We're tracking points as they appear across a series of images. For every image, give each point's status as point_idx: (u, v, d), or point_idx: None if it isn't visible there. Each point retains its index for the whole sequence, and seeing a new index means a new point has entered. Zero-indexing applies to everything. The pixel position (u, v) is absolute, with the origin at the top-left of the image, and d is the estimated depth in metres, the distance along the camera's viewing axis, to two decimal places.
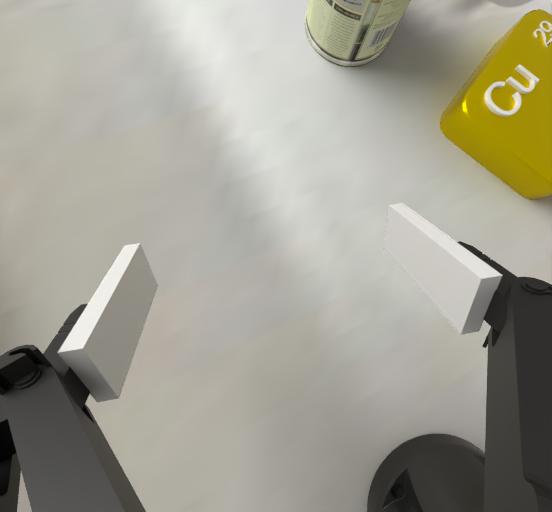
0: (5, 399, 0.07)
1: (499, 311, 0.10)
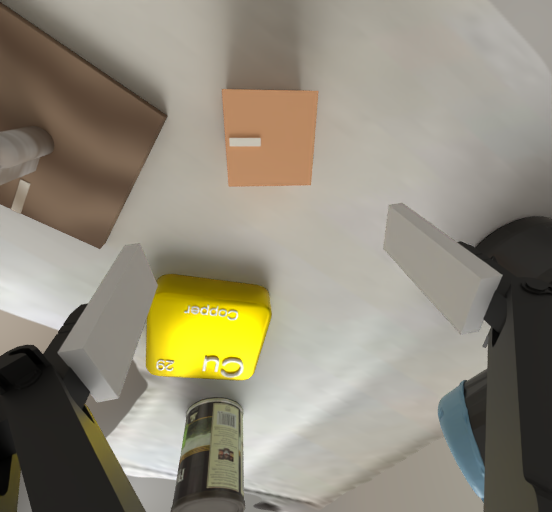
0: (6, 398, 0.08)
1: (499, 311, 0.10)
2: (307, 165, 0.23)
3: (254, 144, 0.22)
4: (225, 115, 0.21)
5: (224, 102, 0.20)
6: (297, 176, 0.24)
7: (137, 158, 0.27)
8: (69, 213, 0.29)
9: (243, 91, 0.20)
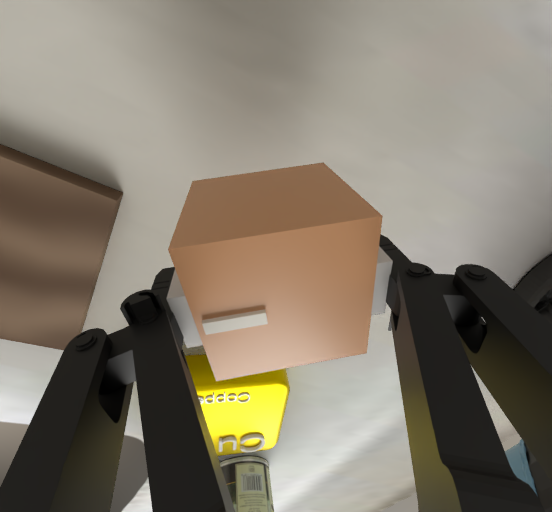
0: (132, 328, 0.09)
1: (394, 297, 0.11)
2: (360, 330, 0.12)
3: (254, 322, 0.11)
4: (186, 289, 0.10)
5: (179, 270, 0.09)
6: (340, 346, 0.13)
7: (93, 252, 0.21)
8: (25, 322, 0.23)
9: (217, 244, 0.09)
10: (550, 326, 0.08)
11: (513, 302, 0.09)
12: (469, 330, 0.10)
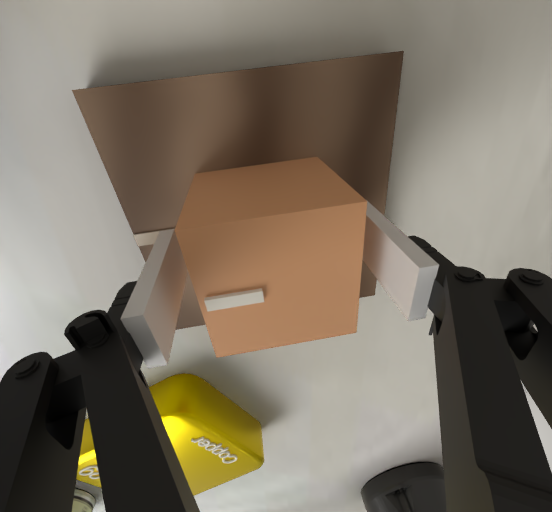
0: (79, 354, 0.09)
1: (439, 300, 0.10)
2: (349, 309, 0.13)
3: (252, 300, 0.12)
4: (190, 268, 0.11)
5: (184, 249, 0.10)
6: (332, 325, 0.14)
7: None
8: None
9: (218, 226, 0.10)
10: None
11: None
12: (517, 337, 0.10)
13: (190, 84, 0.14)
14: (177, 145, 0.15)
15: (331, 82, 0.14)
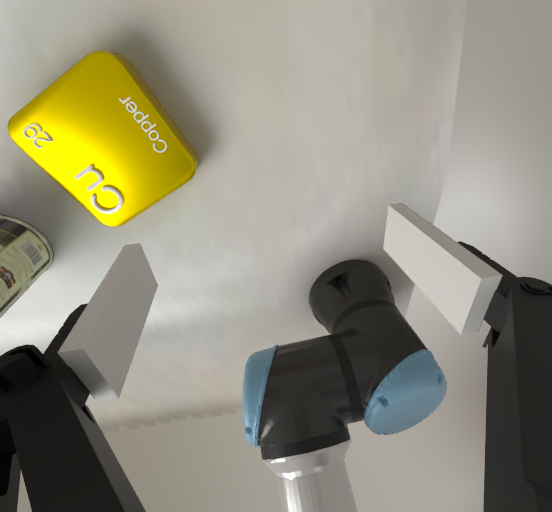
0: (5, 399, 0.07)
1: (499, 311, 0.10)
2: None
3: None
4: None
5: None
6: None
7: None
8: None
9: None
10: None
11: None
12: None
13: None
14: None
15: None
